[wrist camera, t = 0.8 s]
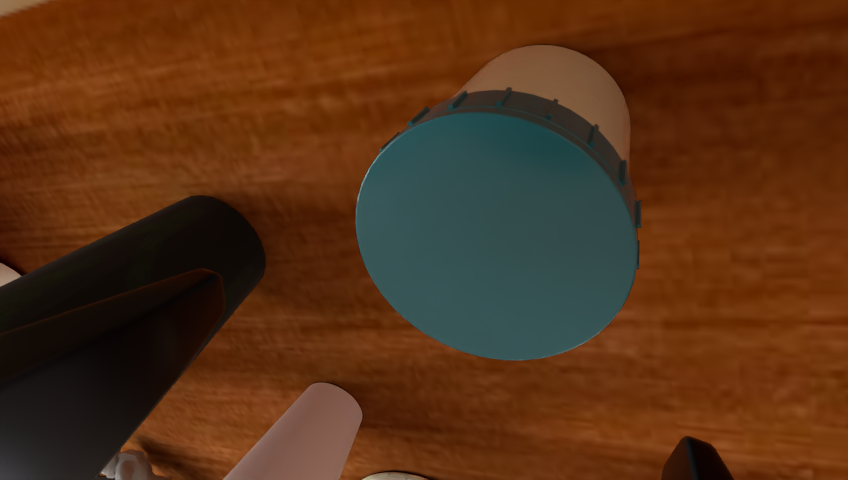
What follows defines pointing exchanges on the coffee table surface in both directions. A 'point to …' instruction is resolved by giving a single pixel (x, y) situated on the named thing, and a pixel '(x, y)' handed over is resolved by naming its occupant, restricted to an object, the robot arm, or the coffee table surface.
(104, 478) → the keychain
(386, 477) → the coffee can
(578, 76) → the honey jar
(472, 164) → the jar lid
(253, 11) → the coffee table surface
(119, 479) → the soldier figurine
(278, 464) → the smoothie
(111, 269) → the cup
